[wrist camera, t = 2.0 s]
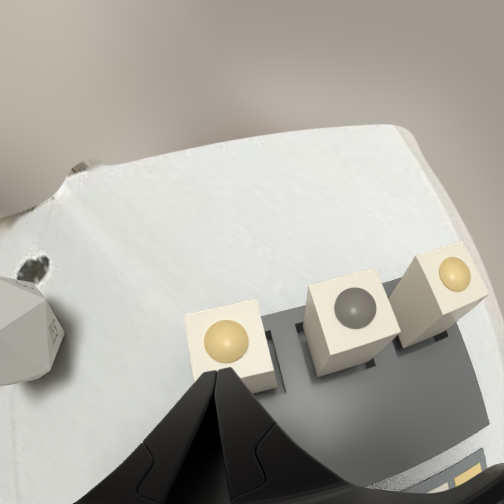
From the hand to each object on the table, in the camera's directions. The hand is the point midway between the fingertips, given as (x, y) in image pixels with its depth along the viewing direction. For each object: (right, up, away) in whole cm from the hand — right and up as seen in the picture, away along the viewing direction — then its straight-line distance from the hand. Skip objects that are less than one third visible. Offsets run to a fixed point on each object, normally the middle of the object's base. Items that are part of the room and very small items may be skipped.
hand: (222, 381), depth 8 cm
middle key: (+6, -2, +9) cm, 11 cm away
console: (+7, -6, +10) cm, 14 cm away
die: (-18, -5, +14) cm, 23 cm away
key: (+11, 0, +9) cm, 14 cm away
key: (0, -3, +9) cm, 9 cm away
